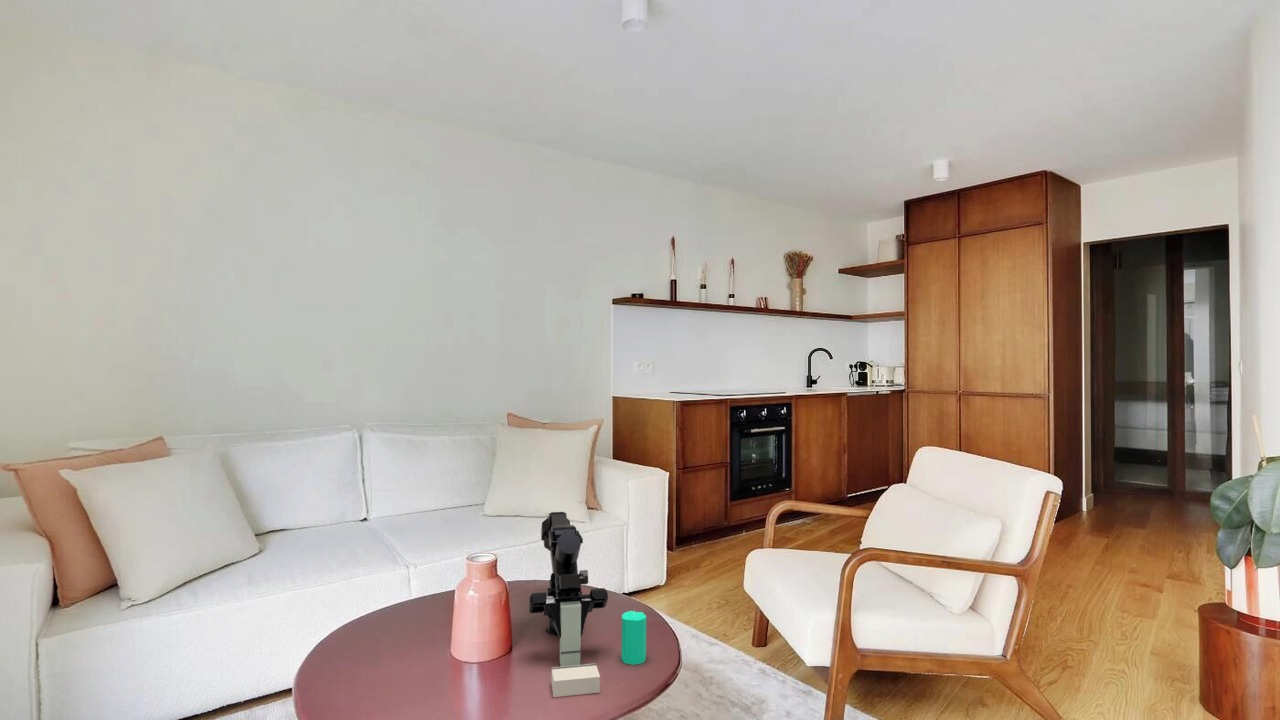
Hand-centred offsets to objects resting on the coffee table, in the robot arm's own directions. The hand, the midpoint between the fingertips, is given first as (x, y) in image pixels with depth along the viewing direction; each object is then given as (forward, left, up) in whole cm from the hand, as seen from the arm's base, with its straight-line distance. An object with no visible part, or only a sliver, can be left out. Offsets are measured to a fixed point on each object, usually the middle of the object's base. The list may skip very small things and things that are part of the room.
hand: (570, 636), depth 152 cm
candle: (+9, +13, -7) cm, 17 cm away
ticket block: (+7, -6, -7) cm, 12 cm away
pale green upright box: (-1, +1, -7) cm, 7 cm away
